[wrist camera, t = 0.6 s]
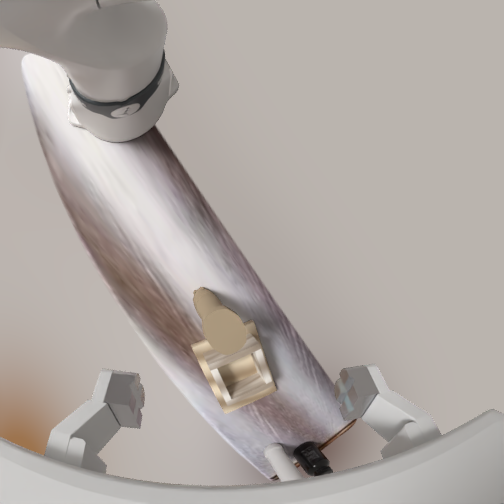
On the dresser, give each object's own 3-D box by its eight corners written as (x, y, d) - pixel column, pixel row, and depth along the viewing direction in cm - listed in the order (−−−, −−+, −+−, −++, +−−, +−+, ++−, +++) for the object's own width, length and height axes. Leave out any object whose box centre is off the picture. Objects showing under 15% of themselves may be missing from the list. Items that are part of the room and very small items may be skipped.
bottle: (277, 454, 61) (324, 518, 38) (260, 455, 59) (304, 525, 36) (283, 441, 61) (334, 507, 38) (266, 443, 59) (314, 514, 36)
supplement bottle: (289, 458, 63) (309, 486, 52) (298, 442, 63) (320, 470, 52) (308, 455, 66) (329, 480, 55) (317, 439, 66) (340, 465, 55)
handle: (204, 272, 47) (230, 301, 33) (222, 303, 49) (253, 341, 35) (179, 286, 46) (195, 322, 32) (198, 317, 48) (221, 360, 34)
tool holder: (190, 344, 48) (196, 360, 43) (251, 319, 51) (263, 331, 46) (223, 410, 53) (231, 427, 48) (274, 387, 56) (285, 401, 51)
